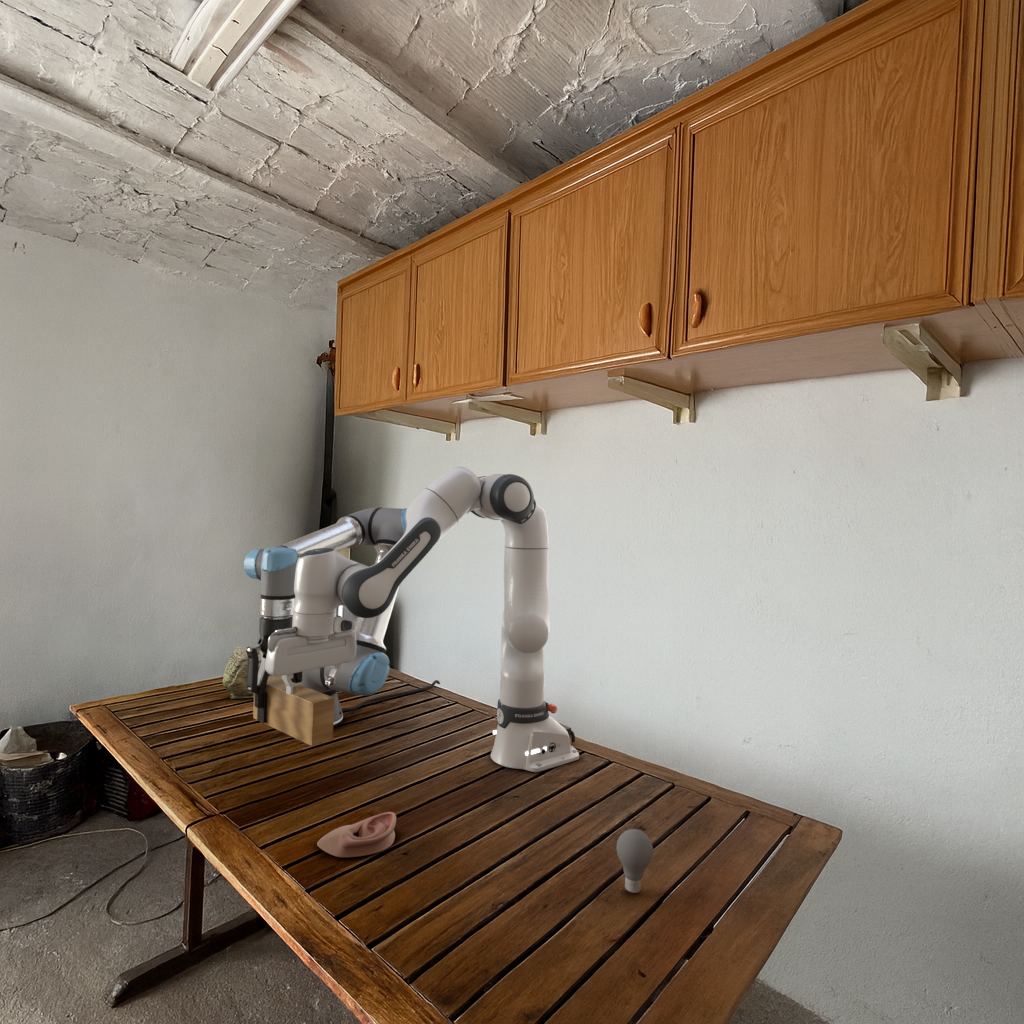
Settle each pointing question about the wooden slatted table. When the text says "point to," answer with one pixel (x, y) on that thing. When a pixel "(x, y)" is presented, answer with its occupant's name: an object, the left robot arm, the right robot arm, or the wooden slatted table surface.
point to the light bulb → (634, 857)
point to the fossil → (238, 674)
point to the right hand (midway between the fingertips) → (311, 689)
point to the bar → (299, 712)
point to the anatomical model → (361, 837)
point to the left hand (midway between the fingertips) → (273, 717)
